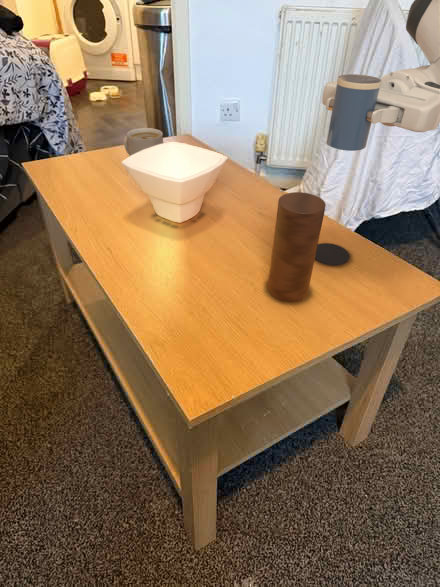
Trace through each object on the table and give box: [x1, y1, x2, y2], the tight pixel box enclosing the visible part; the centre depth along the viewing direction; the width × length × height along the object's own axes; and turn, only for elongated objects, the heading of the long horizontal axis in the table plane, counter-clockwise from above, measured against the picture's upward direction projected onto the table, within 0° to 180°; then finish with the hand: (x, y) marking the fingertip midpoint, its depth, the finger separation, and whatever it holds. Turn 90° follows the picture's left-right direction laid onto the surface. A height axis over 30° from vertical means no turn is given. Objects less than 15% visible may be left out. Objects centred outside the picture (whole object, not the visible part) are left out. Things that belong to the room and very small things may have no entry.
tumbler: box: [325, 73, 382, 152], centre depth 66 cm, size 7×7×10 cm
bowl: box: [121, 140, 229, 224], centre depth 95 cm, size 19×19×14 cm
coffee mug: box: [123, 127, 164, 157], centre depth 119 cm, size 13×10×10 cm
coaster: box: [314, 242, 350, 267], centre depth 87 cm, size 8×8×1 cm
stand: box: [267, 191, 327, 303], centre depth 72 cm, size 8×8×18 cm
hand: (349, 110), depth 66 cm, fingers closed on tumbler, 6 cm apart
